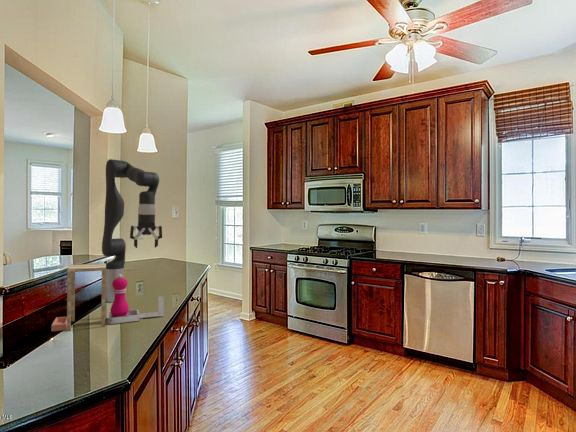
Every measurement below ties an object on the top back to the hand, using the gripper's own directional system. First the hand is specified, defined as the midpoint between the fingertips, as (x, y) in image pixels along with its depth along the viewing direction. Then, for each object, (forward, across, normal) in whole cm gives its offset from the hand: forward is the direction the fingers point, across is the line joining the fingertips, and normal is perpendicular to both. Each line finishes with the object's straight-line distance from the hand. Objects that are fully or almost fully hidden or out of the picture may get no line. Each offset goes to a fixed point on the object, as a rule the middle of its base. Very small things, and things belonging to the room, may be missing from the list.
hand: (146, 247), depth 171 cm
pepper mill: (+30, +11, +12) cm, 35 cm away
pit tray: (+30, +33, +12) cm, 46 cm away
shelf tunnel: (+30, +23, +12) cm, 40 cm away
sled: (+30, +4, +12) cm, 32 cm away
